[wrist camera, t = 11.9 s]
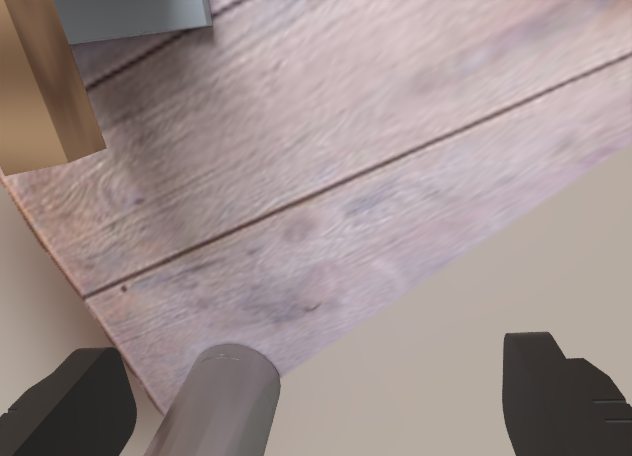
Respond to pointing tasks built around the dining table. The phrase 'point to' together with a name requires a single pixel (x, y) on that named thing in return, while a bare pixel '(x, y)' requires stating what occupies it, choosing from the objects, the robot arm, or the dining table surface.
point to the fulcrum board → (129, 17)
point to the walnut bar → (41, 92)
